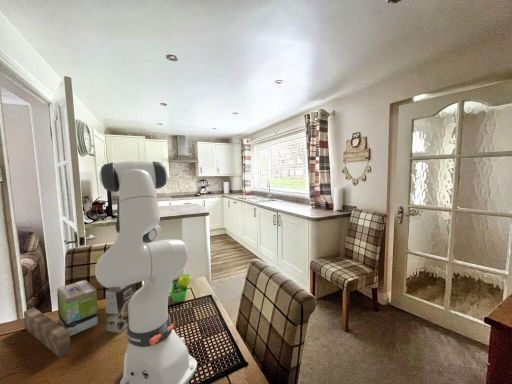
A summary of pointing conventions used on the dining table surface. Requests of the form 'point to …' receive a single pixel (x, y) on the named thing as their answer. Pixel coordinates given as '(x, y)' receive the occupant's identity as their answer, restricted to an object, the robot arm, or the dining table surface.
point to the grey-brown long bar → (47, 331)
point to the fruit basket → (180, 289)
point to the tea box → (77, 306)
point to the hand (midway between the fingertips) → (118, 277)
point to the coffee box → (118, 307)
